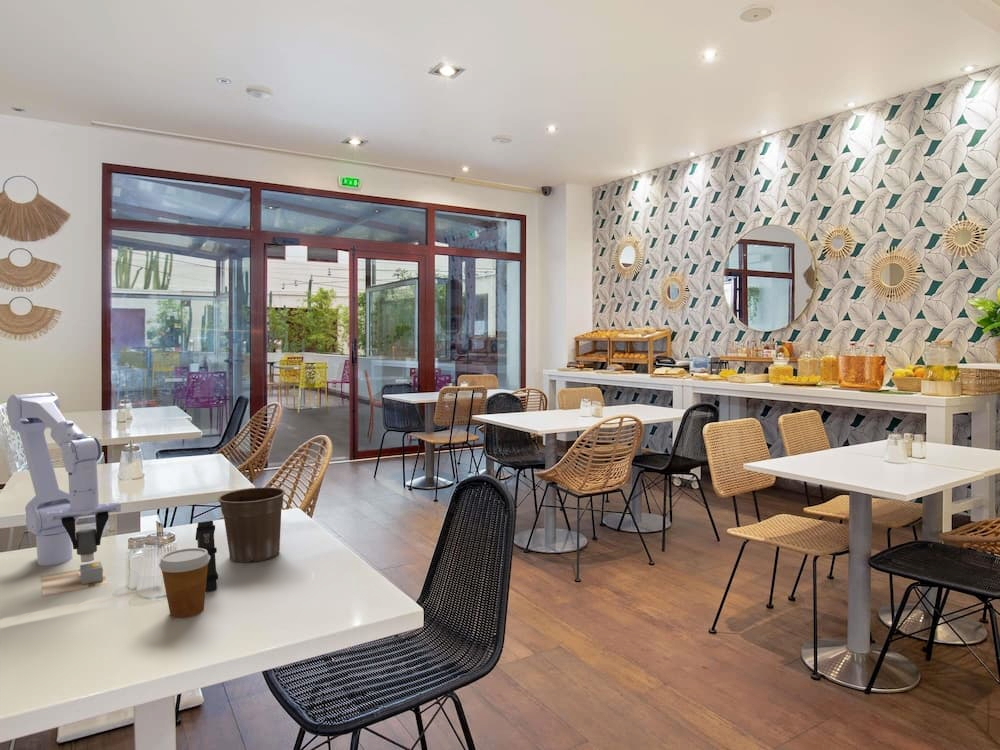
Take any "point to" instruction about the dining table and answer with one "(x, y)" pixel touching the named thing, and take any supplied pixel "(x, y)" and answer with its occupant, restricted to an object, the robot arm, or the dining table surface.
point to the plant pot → (252, 522)
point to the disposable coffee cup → (185, 580)
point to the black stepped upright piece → (207, 542)
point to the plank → (65, 582)
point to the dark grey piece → (86, 544)
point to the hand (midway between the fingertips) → (86, 546)
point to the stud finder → (91, 572)
